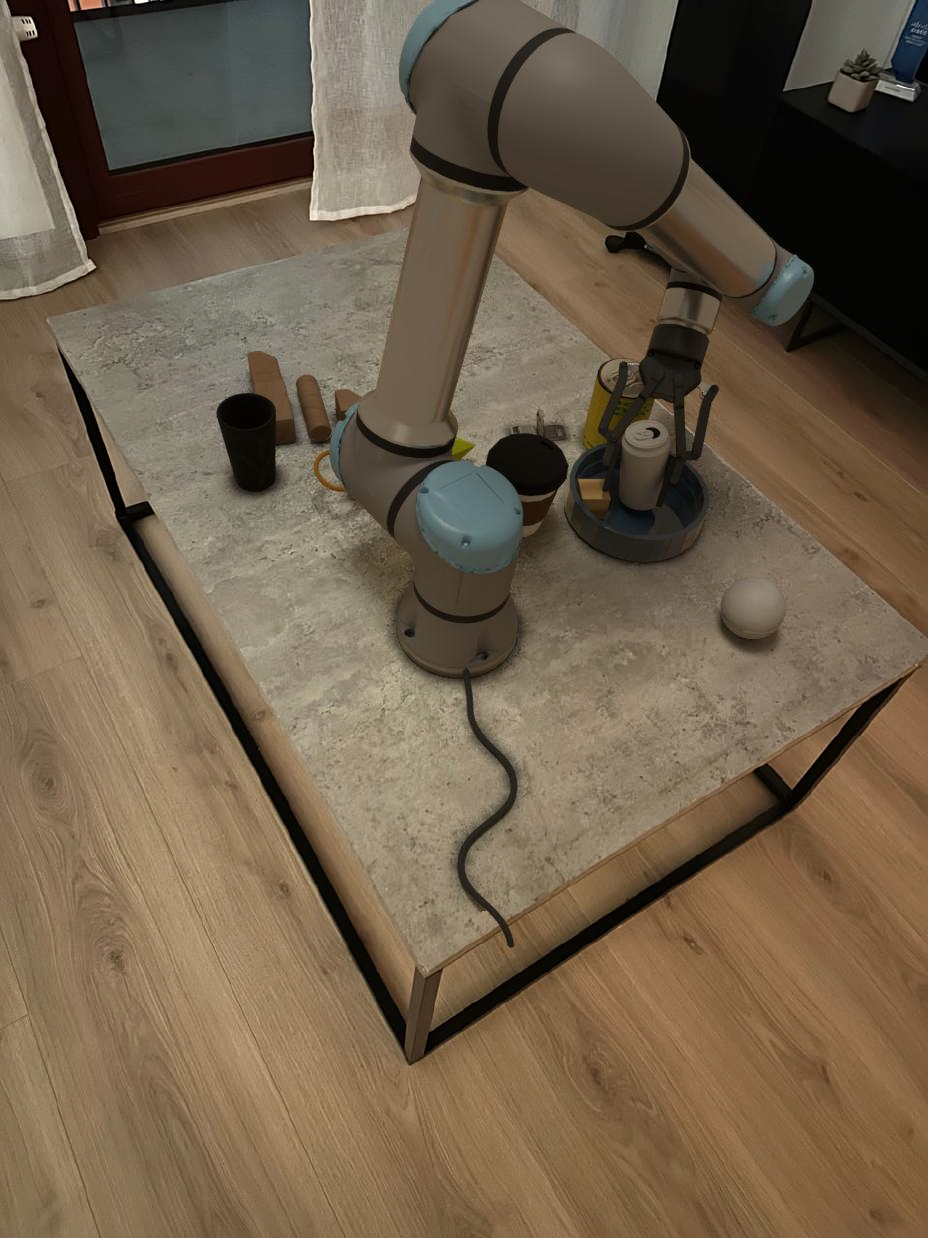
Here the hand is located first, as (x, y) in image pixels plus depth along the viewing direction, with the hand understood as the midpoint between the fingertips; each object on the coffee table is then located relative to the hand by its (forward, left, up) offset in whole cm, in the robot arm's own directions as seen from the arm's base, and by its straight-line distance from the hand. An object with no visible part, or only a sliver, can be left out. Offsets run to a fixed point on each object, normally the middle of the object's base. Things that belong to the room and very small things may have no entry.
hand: (631, 498), depth 122 cm
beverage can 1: (+18, +5, -6) cm, 19 cm away
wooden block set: (+8, +51, -6) cm, 51 cm away
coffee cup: (-4, +14, -6) cm, 16 cm away
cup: (-10, +51, -6) cm, 53 cm away
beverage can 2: (+5, -1, -4) cm, 7 cm away
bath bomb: (-11, -19, -6) cm, 23 cm away
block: (+1, +5, -5) cm, 8 cm away
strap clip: (+15, +16, -6) cm, 23 cm away
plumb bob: (-3, +32, -6) cm, 33 cm away
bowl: (+4, -1, -6) cm, 7 cm away
